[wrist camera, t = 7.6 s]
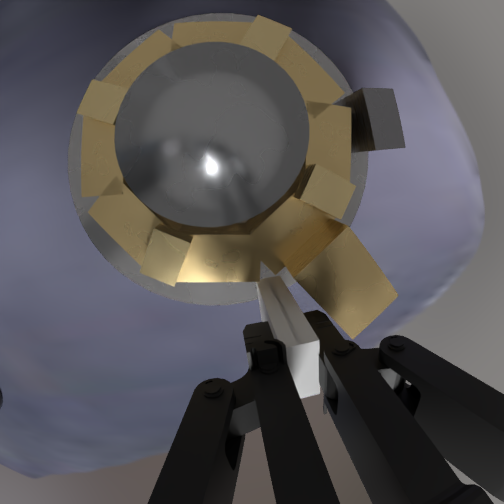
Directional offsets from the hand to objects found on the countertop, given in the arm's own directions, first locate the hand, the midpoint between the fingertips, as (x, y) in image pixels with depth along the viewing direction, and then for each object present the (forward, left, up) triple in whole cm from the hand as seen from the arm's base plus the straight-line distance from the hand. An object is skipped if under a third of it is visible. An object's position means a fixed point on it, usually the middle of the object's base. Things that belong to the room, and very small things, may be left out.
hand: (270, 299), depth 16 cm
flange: (+7, +5, -3) cm, 9 cm away
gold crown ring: (+6, +3, -1) cm, 7 cm away
